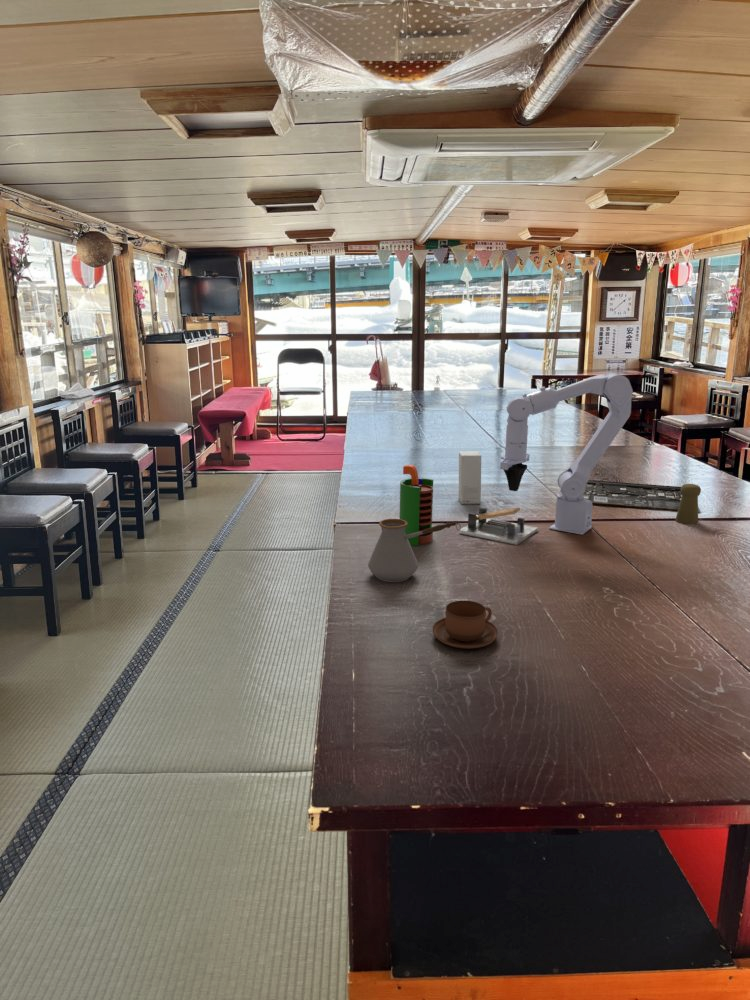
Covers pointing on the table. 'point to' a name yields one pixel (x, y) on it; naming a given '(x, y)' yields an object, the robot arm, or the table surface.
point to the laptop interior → (633, 495)
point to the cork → (688, 504)
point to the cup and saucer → (465, 626)
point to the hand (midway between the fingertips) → (513, 490)
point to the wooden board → (497, 513)
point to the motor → (416, 505)
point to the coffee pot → (397, 551)
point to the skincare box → (470, 477)
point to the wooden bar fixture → (497, 529)
